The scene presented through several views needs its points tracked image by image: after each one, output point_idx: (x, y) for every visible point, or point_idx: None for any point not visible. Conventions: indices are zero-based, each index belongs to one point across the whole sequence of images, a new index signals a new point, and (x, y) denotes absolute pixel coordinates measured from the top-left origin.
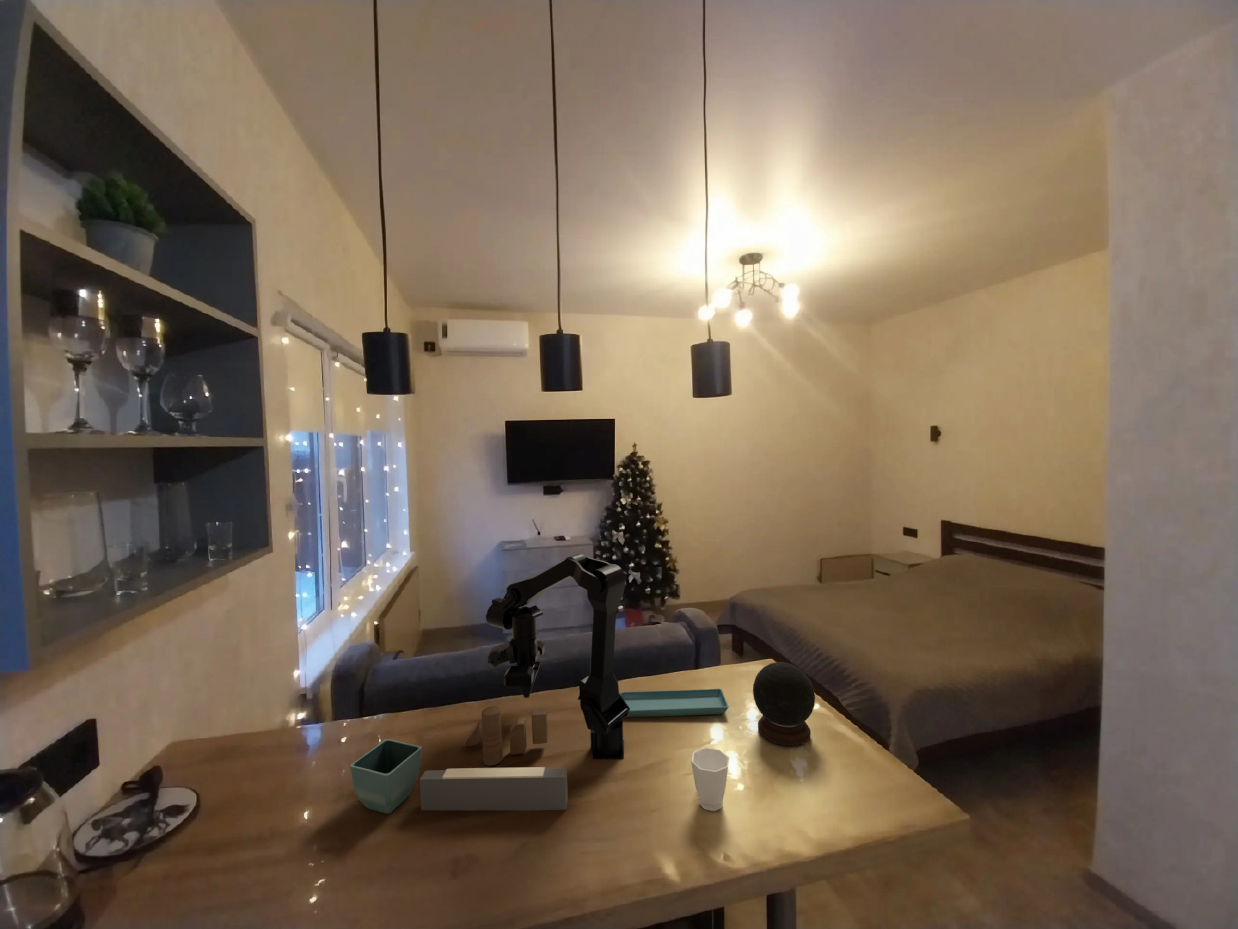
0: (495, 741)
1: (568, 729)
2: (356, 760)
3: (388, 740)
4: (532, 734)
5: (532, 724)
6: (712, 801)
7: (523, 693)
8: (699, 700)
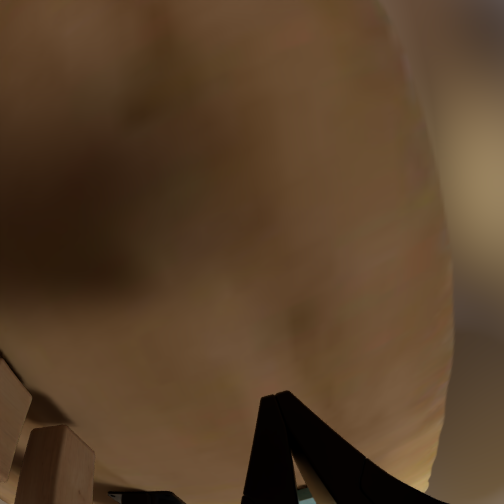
0: None
1: (199, 453)
2: None
3: None
4: (25, 453)
5: (18, 484)
6: None
7: (256, 432)
8: None
